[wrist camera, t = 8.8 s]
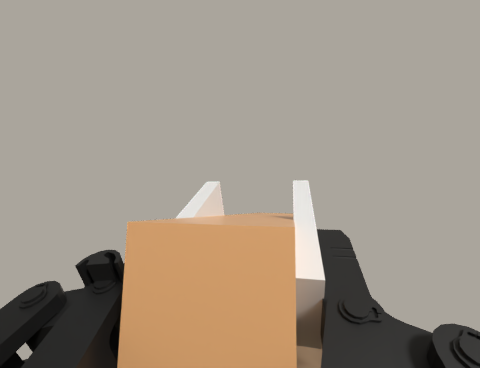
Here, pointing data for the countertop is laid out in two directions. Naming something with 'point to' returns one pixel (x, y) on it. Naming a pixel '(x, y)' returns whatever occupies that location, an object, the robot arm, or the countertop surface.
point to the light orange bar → (209, 293)
